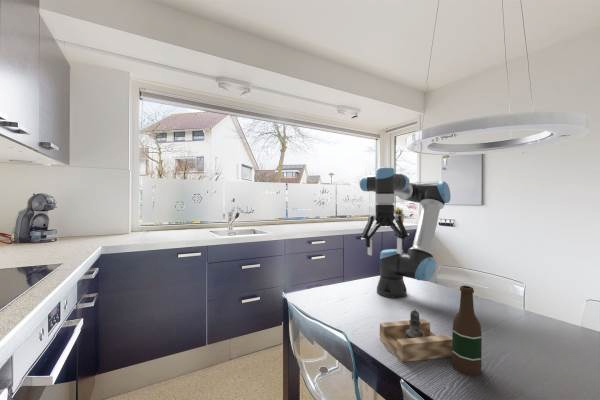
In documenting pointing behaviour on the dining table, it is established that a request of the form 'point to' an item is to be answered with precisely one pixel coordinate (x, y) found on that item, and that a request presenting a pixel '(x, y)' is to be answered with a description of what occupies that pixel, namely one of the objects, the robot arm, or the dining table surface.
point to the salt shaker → (414, 326)
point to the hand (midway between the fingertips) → (384, 254)
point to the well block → (414, 342)
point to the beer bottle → (466, 336)
